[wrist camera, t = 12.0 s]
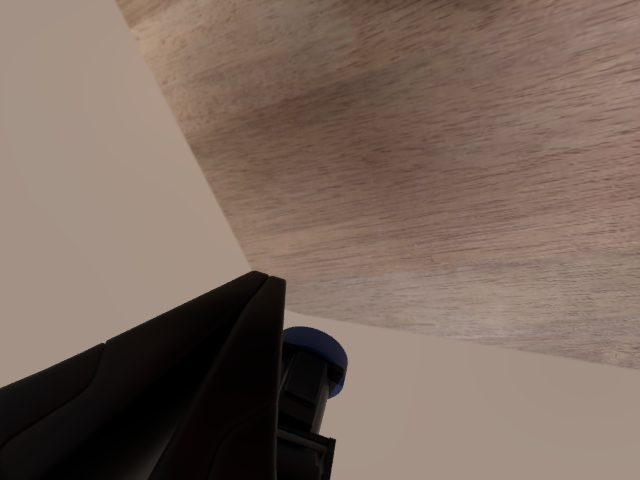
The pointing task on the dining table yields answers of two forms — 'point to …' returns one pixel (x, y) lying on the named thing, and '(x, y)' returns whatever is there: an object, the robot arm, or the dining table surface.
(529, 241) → the dining table surface
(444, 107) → the dining table surface
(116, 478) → the robot arm
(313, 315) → the dining table surface
